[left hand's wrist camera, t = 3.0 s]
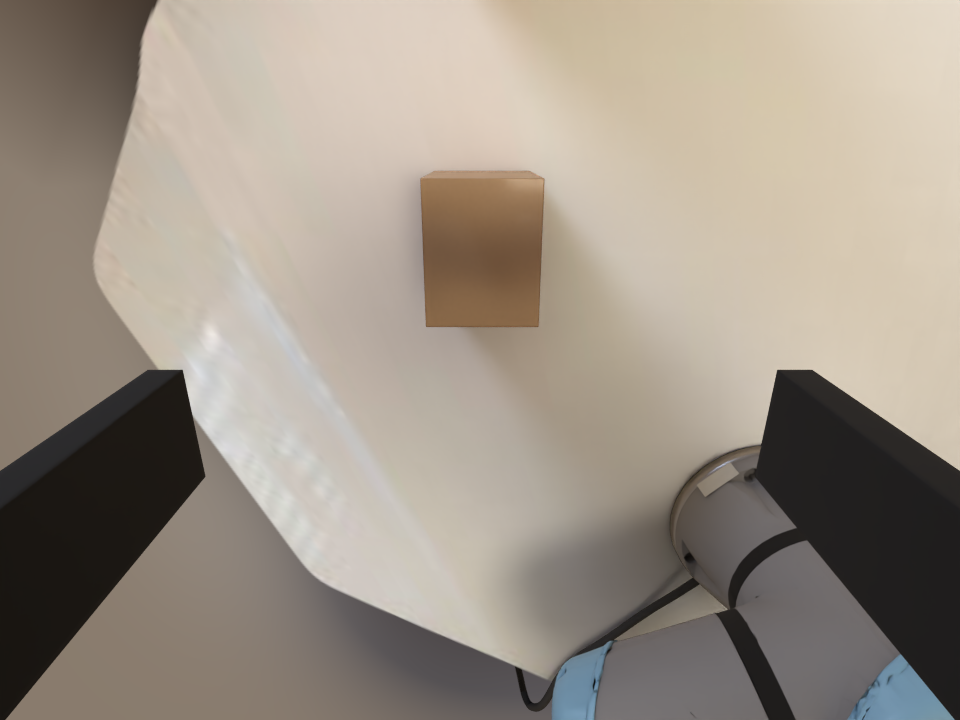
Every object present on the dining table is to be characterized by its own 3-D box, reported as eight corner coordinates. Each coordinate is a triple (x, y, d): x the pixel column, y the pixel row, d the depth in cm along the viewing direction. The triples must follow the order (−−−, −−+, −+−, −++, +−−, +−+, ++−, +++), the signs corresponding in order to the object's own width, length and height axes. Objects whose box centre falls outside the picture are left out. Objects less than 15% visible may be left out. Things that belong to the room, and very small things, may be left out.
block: (526, 289, 43) (538, 327, 34) (437, 289, 43) (425, 327, 34) (530, 171, 40) (544, 178, 31) (434, 171, 40) (420, 178, 31)
